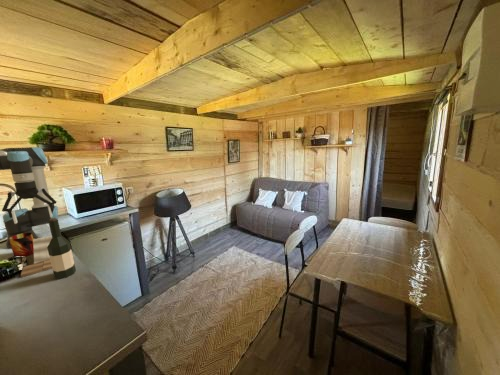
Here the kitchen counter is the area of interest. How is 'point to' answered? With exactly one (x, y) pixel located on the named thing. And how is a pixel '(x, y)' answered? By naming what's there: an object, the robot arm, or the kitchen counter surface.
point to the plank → (41, 249)
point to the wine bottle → (60, 252)
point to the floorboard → (36, 268)
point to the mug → (22, 244)
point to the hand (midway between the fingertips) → (34, 219)
